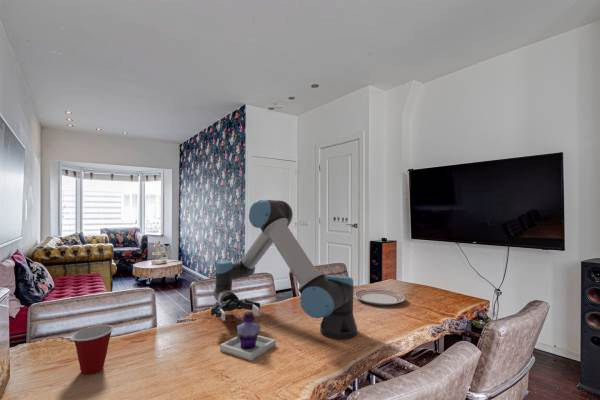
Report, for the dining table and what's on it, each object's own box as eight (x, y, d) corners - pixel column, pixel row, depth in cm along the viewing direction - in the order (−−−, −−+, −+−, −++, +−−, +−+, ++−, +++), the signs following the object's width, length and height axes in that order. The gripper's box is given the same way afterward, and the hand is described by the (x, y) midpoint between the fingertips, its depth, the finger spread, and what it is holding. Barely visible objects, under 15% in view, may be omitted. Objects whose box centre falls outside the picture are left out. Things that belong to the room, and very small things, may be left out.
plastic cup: (69, 368, 99) (70, 328, 99) (109, 358, 105) (110, 321, 106) (70, 383, 90) (72, 340, 90) (114, 372, 97) (115, 332, 97)
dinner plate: (411, 309, 166) (412, 302, 166) (359, 307, 166) (359, 301, 166) (396, 294, 193) (396, 289, 193) (351, 293, 193) (351, 288, 193)
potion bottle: (231, 344, 116) (232, 311, 116) (252, 339, 121) (253, 307, 121) (242, 353, 109) (243, 318, 109) (264, 347, 114) (265, 313, 114)
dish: (275, 346, 117) (275, 339, 117) (250, 361, 105) (251, 354, 105) (246, 337, 124) (246, 331, 124) (220, 350, 112) (220, 344, 112)
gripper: (254, 305, 148) (271, 320, 129) (199, 312, 137) (208, 329, 118) (255, 289, 148) (272, 301, 129) (199, 294, 137) (209, 308, 118)
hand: (241, 314), depth 123 cm, fingers open, 13 cm apart
